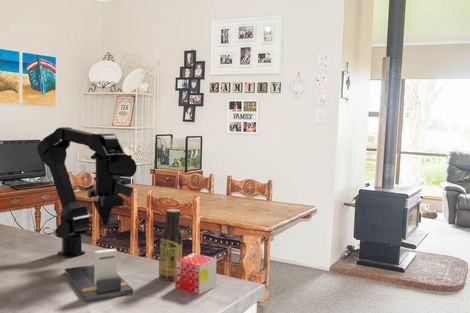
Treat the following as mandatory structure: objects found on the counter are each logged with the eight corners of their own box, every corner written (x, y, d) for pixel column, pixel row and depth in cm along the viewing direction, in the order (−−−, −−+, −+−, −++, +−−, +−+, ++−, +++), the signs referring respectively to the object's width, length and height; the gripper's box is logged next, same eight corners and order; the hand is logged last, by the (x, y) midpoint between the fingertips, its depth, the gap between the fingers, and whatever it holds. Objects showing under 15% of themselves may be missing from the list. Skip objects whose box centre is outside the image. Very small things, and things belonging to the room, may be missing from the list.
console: (64, 272, 137) (64, 258, 137) (105, 267, 144) (105, 253, 143) (86, 301, 117) (86, 285, 117) (133, 293, 123) (133, 277, 123)
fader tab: (93, 286, 123) (94, 250, 123) (113, 282, 126) (114, 248, 125) (96, 289, 121) (97, 253, 120) (116, 286, 124) (117, 251, 123)
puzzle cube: (198, 295, 124) (199, 265, 124) (175, 288, 128) (175, 259, 128) (215, 286, 131) (216, 258, 130) (192, 280, 135) (193, 253, 135)
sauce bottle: (154, 279, 135) (155, 210, 133) (167, 273, 140) (168, 206, 138) (173, 283, 132) (174, 213, 130) (185, 277, 137) (187, 209, 135)
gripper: (141, 177, 142) (140, 228, 143) (121, 170, 158) (120, 216, 159) (103, 178, 136) (103, 232, 137) (87, 171, 152) (87, 219, 153)
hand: (104, 224), depth 147 cm, fingers closed
